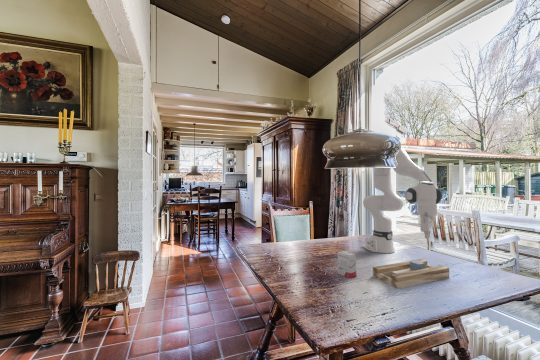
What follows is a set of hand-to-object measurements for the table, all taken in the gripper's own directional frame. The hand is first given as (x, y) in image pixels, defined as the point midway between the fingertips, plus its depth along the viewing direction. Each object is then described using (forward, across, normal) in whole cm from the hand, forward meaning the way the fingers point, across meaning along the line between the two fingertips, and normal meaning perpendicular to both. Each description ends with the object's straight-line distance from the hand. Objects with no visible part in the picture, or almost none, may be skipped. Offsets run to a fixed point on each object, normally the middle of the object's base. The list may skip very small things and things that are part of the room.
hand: (427, 237), depth 135 cm
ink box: (+19, -27, +34) cm, 47 cm away
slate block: (+16, -6, +4) cm, 18 cm away
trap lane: (+19, -11, +6) cm, 23 cm away
